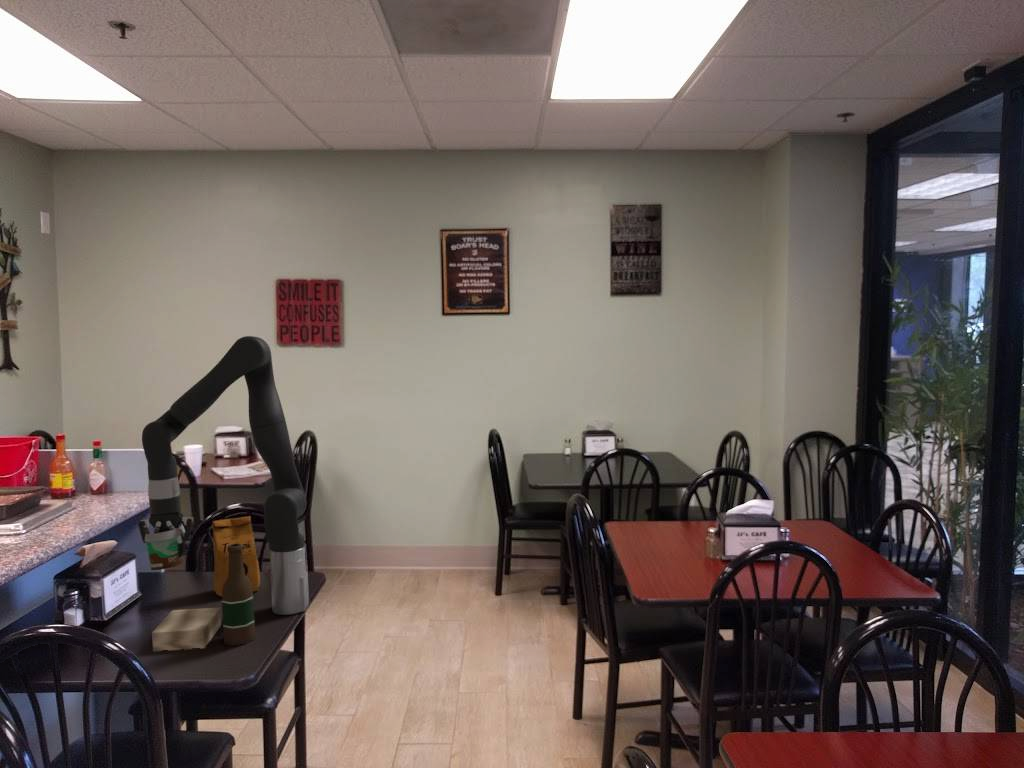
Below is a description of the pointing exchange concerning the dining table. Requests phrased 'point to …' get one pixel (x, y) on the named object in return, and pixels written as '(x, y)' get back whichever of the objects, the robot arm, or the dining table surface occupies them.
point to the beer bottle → (237, 601)
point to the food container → (164, 548)
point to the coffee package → (223, 537)
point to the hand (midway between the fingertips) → (168, 556)
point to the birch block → (186, 629)
